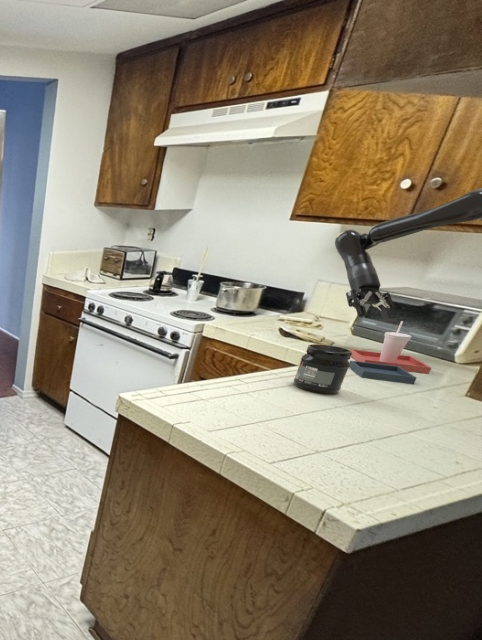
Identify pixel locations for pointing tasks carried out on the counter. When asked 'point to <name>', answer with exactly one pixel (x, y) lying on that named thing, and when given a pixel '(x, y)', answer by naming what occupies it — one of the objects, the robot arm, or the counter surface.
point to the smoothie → (393, 345)
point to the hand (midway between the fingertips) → (375, 317)
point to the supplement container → (323, 368)
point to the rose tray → (402, 361)
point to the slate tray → (382, 372)
